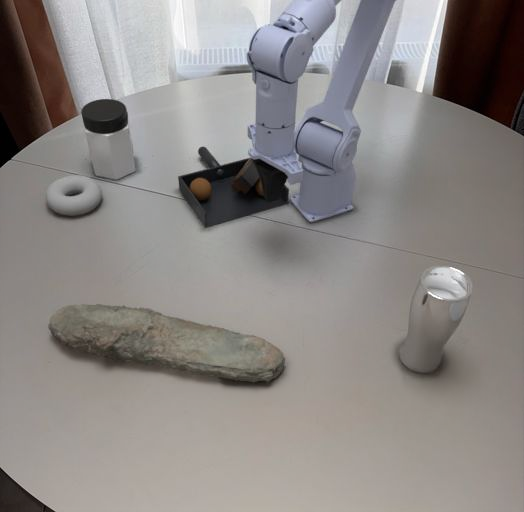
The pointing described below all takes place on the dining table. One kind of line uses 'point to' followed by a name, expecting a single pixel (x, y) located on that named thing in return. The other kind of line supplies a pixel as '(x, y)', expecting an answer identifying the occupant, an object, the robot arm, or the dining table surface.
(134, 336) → the elongated rock
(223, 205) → the dustpan
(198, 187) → the cork ball
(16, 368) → the dining table surface
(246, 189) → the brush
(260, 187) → the cork ball
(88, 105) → the jar
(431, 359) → the beer glass
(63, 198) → the donut
